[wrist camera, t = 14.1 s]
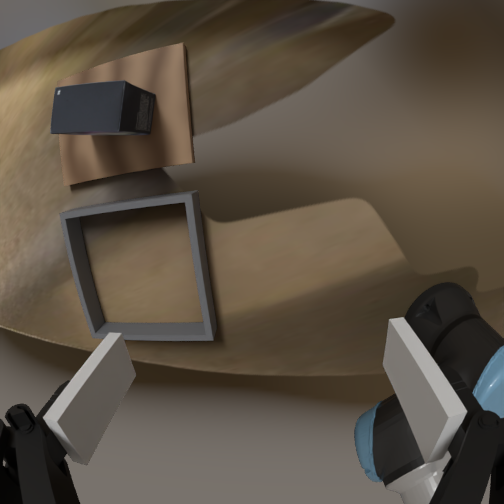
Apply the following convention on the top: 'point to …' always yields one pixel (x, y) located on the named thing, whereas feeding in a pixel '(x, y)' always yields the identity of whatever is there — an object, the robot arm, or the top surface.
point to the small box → (102, 109)
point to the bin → (87, 288)
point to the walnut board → (135, 146)
